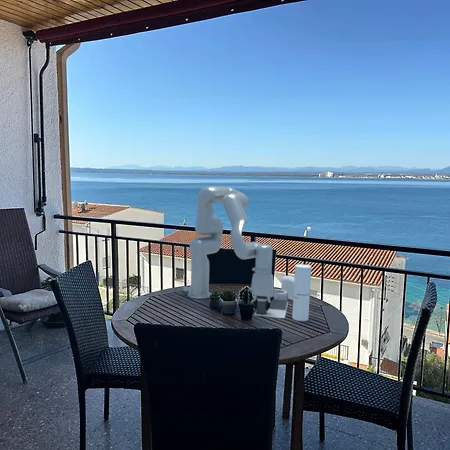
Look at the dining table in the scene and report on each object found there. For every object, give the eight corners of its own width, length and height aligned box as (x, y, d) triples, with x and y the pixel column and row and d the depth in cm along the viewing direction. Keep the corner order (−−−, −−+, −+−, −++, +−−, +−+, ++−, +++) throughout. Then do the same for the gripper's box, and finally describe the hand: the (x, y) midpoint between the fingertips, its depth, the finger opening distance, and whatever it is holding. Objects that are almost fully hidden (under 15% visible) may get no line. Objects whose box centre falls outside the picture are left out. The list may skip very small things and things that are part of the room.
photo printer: (279, 297, 228) (280, 274, 227) (285, 296, 231) (286, 274, 229) (294, 302, 220) (295, 278, 219) (299, 300, 223) (300, 277, 221)
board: (253, 316, 194) (253, 315, 194) (261, 301, 220) (261, 299, 220) (284, 319, 191) (284, 318, 191) (288, 303, 217) (288, 302, 217)
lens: (255, 314, 196) (256, 296, 195) (256, 310, 200) (257, 294, 200) (266, 315, 195) (267, 297, 194) (267, 311, 199) (268, 295, 199)
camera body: (266, 308, 205) (267, 294, 204) (269, 300, 219) (270, 287, 218) (285, 310, 203) (286, 296, 202) (287, 302, 217) (288, 288, 216)
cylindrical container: (304, 323, 187) (307, 268, 184) (289, 320, 191) (292, 266, 188) (310, 319, 193) (313, 265, 190) (295, 316, 197) (298, 263, 194)
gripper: (243, 271, 193) (242, 310, 195) (281, 274, 190) (279, 313, 192) (246, 268, 201) (245, 305, 203) (282, 271, 197) (280, 308, 199)
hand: (261, 309), depth 197 cm, fingers closed on lens, 5 cm apart
